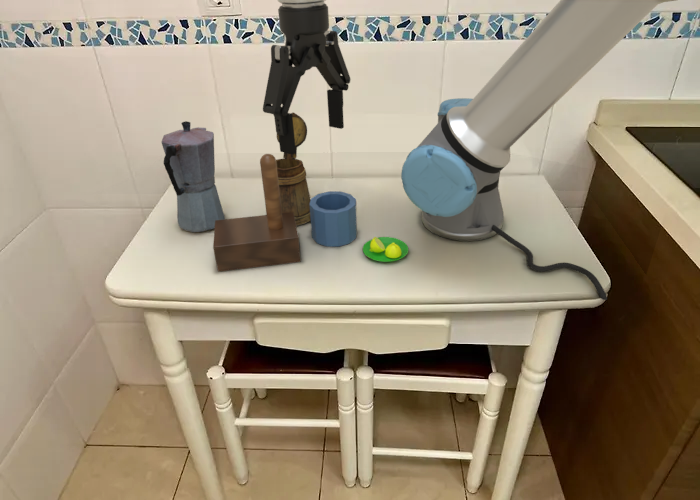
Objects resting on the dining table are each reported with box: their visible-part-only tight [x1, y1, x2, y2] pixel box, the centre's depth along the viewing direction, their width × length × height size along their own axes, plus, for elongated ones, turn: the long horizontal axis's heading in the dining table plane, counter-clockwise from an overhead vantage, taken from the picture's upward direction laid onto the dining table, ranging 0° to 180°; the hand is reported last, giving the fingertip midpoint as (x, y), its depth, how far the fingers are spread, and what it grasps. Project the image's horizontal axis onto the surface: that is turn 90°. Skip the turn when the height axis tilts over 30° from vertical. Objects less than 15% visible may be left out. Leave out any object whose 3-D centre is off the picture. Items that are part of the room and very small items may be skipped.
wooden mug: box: [276, 112, 311, 227], centre depth 100 cm, size 9×14×18 cm, turn 174°
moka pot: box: [161, 120, 226, 233], centre depth 96 cm, size 10×15×20 cm, turn 173°
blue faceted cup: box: [310, 190, 358, 248], centre depth 95 cm, size 8×8×7 cm
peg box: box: [212, 153, 301, 273], centre depth 87 cm, size 14×9×18 cm, turn 100°
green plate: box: [362, 236, 409, 263], centre depth 91 cm, size 8×8×3 cm
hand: (313, 139), depth 89 cm, fingers open, 13 cm apart
